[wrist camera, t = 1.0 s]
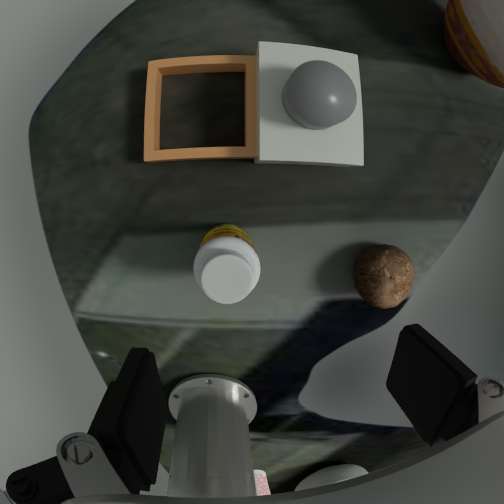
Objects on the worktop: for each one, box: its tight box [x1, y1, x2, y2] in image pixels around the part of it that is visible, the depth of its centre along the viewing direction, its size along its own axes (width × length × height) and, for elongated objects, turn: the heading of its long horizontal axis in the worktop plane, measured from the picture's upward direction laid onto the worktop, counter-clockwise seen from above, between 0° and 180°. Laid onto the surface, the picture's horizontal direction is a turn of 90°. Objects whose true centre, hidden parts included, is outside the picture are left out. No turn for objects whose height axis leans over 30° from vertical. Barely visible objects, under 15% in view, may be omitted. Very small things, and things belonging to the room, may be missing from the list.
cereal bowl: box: [295, 464, 369, 491], centre depth 42 cm, size 17×17×7 cm
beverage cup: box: [254, 470, 271, 496], centre depth 36 cm, size 6×6×14 cm
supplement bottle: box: [193, 224, 260, 304], centre depth 26 cm, size 6×6×10 cm
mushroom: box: [352, 244, 415, 309], centre depth 31 cm, size 8×8×6 cm
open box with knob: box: [144, 42, 364, 167], centre depth 23 cm, size 12×21×8 cm, turn 90°
